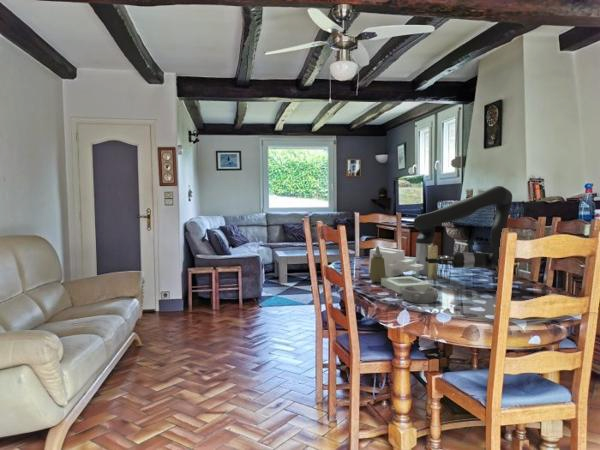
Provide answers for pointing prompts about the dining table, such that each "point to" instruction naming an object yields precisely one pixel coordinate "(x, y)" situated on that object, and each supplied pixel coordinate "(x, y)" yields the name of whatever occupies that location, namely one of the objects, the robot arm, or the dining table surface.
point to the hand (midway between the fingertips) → (427, 260)
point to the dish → (419, 295)
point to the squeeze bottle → (377, 266)
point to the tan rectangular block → (432, 266)
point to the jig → (404, 283)
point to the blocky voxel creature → (395, 262)
